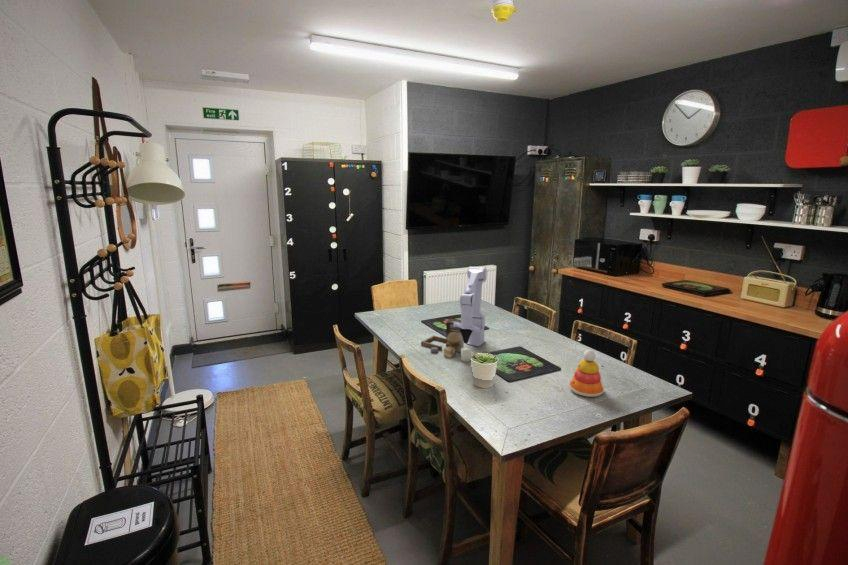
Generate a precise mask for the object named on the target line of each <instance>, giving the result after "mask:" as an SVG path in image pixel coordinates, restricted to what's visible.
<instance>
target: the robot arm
mask: <svg viewBox="0 0 848 565" xmlns="http://www.w3.org/2000/svg"><path fill="white" fill-rule="evenodd" d="M466 274H467V278H468V283H467V284H466V285H465V286H464V287H465V288H464V290H463V293H461V294H460V297H459V304H460V305H459V306H460V311H461V312H460V320H461V323H456V322H455V323H453V327H459V328H461V330H460V332H461V334H462V337H463V340H464V344H467V345H471V346H475V347H480V346H481V345H483V344H484V343H486V342H487V341H486V340H485V329H484V328H485V326H486V316H485V314H484V313H483V312H482V311H481V308H482V292H483V290H482V289H483V284H484V283H485V282H487V278H488V277H487V276H488V271H487V268H486V267H480V266H471V265H470V266H468V268H467V273H466Z"/></svg>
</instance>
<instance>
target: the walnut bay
mask: <svg viewBox="0 0 848 565" xmlns="http://www.w3.org/2000/svg"><path fill="white" fill-rule="evenodd" d="M432 341H438V342H443V343H445V344H446V337H441V336H437V335H431V336H429V337H428V338H425V339H423V340H421V341H420V345H421V346H423V347H426V348H430V349H431V348H432V347H437V348H438V351H442V350H443V346H442V345H439V344H434V343H431V342H432Z"/></svg>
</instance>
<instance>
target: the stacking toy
mask: <svg viewBox="0 0 848 565" xmlns="http://www.w3.org/2000/svg"><path fill="white" fill-rule="evenodd" d="M595 360H596V353H595V350H592V349H587V350H585V351H584V353H583V359H582V360H581V361H579V362H578V365H577V368H576V369H575V371H574V374H573V375H574V376H573V375H572V378H571V379H570V381H569V383H568V386H569V389H570V390H571V391H572V392H573V393H574V394H577V395H580V396H582V397H591V398H593V397H596V398H597V397H599V396H601V395H602V394H603V393H604V391H605V389H604V386H603V383H602V381H601V380H602V377H601V372H600V368H599V367H600V366H599V365H598V363H597V362H596V361H595Z"/></svg>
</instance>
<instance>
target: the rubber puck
mask: <svg viewBox="0 0 848 565" xmlns="http://www.w3.org/2000/svg"><path fill="white" fill-rule="evenodd" d="M430 353H432V354H438V353H439V350H438V348H437V347H432V348H430Z"/></svg>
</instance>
